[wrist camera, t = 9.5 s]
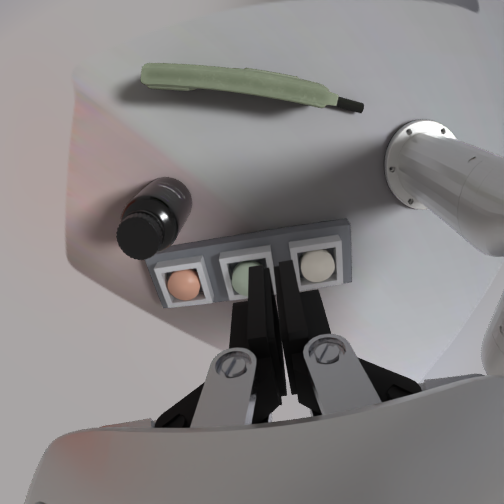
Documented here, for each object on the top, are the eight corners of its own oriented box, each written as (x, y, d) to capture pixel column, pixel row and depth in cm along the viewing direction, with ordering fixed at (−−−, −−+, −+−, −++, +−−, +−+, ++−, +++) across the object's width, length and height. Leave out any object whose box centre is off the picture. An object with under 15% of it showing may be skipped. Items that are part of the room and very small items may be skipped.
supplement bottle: (190, 173, 39) (166, 204, 28) (195, 223, 42) (176, 269, 32) (139, 178, 39) (101, 210, 29) (147, 225, 42) (115, 270, 32)
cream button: (330, 243, 41) (333, 250, 39) (332, 272, 43) (335, 279, 41) (298, 248, 41) (299, 255, 40) (301, 277, 43) (302, 284, 42)
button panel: (346, 218, 42) (354, 229, 38) (348, 274, 46) (355, 289, 42) (147, 249, 44) (139, 262, 41) (166, 300, 48) (160, 315, 45)
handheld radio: (161, 62, 33) (362, 94, 34) (157, 87, 34) (357, 119, 36) (142, 59, 27) (381, 98, 28) (139, 88, 28) (375, 126, 30)
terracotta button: (196, 264, 43) (194, 271, 41) (204, 290, 45) (202, 298, 43) (166, 268, 43) (163, 275, 41) (175, 294, 45) (173, 302, 43)
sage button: (263, 257, 41) (263, 264, 39) (268, 286, 43) (268, 294, 41) (229, 263, 41) (228, 270, 40) (236, 290, 43) (235, 298, 42)
